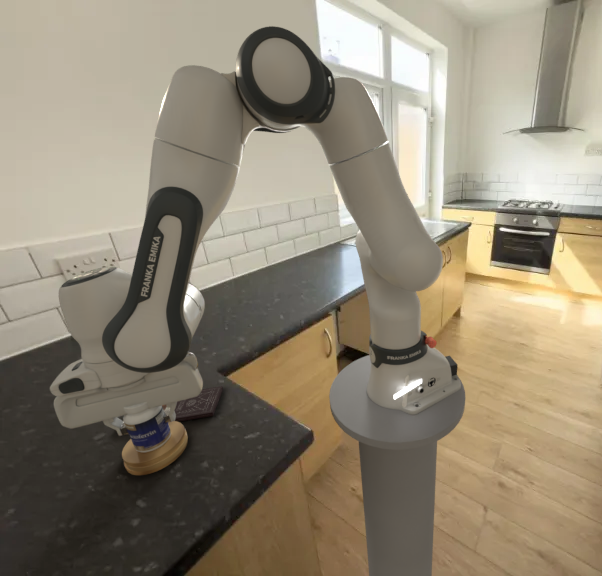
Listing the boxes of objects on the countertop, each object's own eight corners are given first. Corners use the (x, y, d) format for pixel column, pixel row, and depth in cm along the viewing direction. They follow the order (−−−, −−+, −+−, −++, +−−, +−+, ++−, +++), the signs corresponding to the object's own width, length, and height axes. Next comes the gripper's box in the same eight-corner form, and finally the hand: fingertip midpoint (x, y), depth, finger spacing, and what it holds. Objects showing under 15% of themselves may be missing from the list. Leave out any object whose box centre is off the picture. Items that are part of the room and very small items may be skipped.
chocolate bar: (212, 412, 69) (117, 428, 65) (213, 415, 69) (119, 432, 66) (222, 386, 77) (138, 399, 73) (223, 389, 77) (140, 402, 74)
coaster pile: (192, 424, 67) (188, 413, 66) (185, 463, 58) (181, 451, 57) (134, 441, 63) (129, 429, 62) (117, 485, 55) (111, 473, 53)
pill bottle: (129, 457, 56) (109, 413, 53) (143, 432, 62) (127, 391, 58) (165, 450, 58) (148, 406, 54) (176, 426, 63) (162, 385, 59)
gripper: (195, 340, 60) (212, 398, 65) (55, 368, 52) (87, 432, 58) (191, 357, 54) (210, 419, 59) (34, 391, 47) (71, 459, 52)
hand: (148, 426), depth 58 cm, fingers closed on pill bottle, 5 cm apart
